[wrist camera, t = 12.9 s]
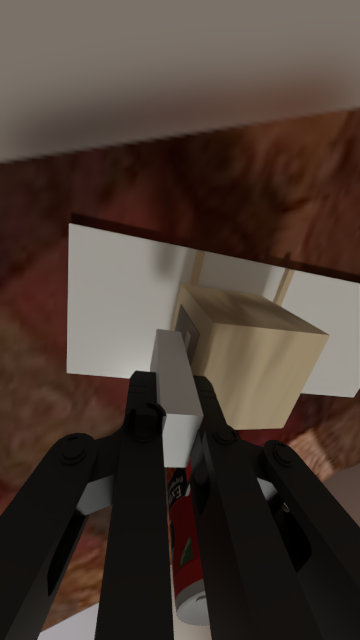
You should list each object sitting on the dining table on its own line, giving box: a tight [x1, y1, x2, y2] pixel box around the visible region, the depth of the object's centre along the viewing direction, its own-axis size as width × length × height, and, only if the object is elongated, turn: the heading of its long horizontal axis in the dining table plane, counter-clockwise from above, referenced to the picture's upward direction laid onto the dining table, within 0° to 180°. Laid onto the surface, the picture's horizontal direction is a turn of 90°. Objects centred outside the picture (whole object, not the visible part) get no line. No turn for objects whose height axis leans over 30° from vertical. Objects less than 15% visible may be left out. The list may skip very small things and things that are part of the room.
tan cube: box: [171, 283, 330, 430], centre depth 16 cm, size 7×7×7 cm
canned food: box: [167, 460, 210, 626], centre depth 22 cm, size 8×8×11 cm
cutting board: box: [67, 223, 360, 397], centre depth 20 cm, size 30×12×1 cm, turn 78°
